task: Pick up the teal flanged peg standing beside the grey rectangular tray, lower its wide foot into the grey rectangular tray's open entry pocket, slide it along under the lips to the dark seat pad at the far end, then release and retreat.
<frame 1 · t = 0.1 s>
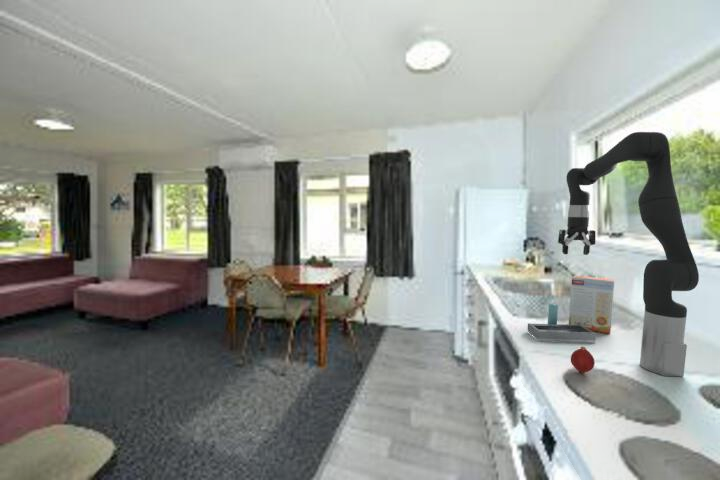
hand: (575, 254, 144), 29 cm above the counter, fingers open, 8 cm apart
onion: (581, 373, 99), on the counter
peg: (551, 329, 136), on the counter
grey rectangular tray: (559, 337, 127), on the counter
cracker box: (589, 329, 138), on the counter
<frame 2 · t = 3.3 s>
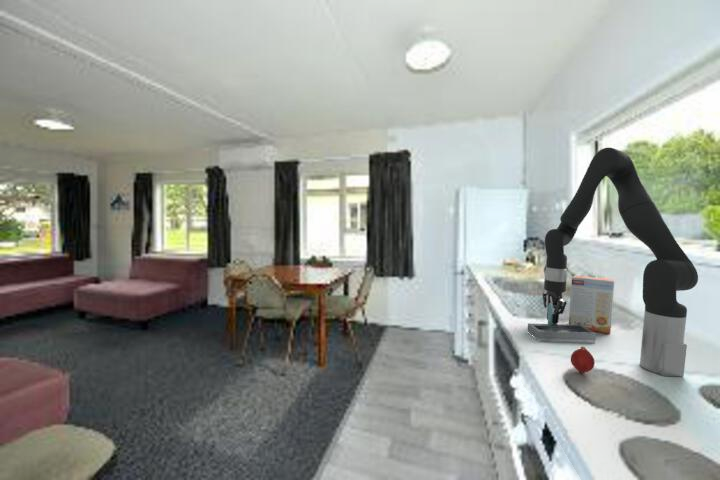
hand: (552, 321, 136), 3 cm above the counter, fingers closed on peg, 3 cm apart
peg: (551, 329, 136), on the counter, touching gripper
everything else where it was.
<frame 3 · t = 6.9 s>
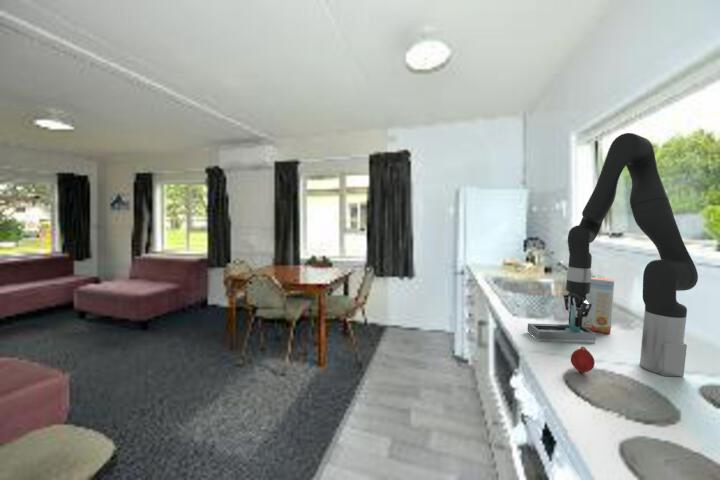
hand: (574, 324, 127), 5 cm above the counter, fingers closed on peg, 3 cm apart
peg: (574, 333, 127), point 2 cm above the counter, touching gripper
everything else where it was.
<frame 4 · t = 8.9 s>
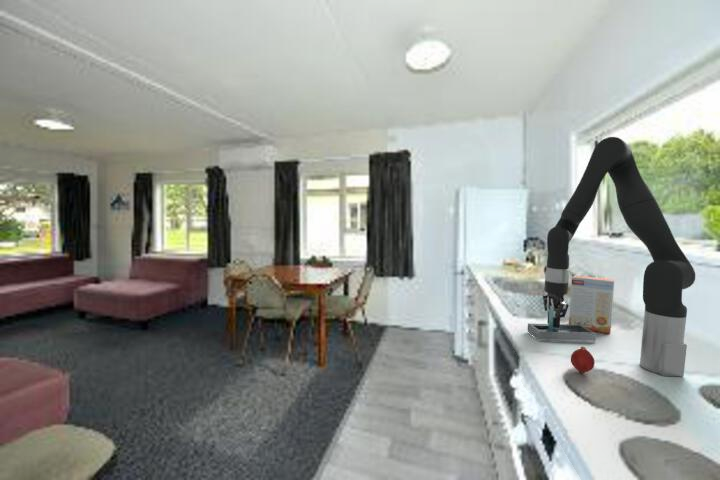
hand: (553, 325, 127), 5 cm above the counter, fingers closed on peg, 3 cm apart
peg: (552, 333, 127), point 1 cm above the counter, touching gripper
everything else where it was.
when the fingers open (4 cm above the counter, at t = 10.7 s): peg stays where it is, resting on grey rectangular tray.
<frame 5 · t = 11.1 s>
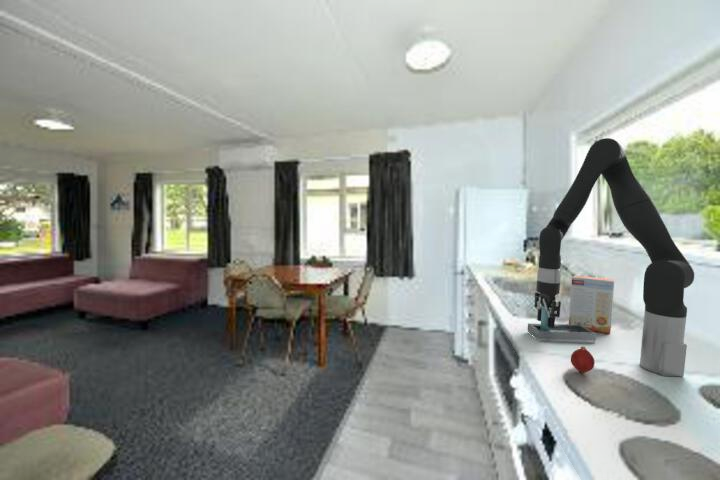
hand: (545, 323, 127), 5 cm above the counter, fingers open, 7 cm apart
peg: (544, 334, 127), point 1 cm above the counter, touching grey rectangular tray
everything else where it was.
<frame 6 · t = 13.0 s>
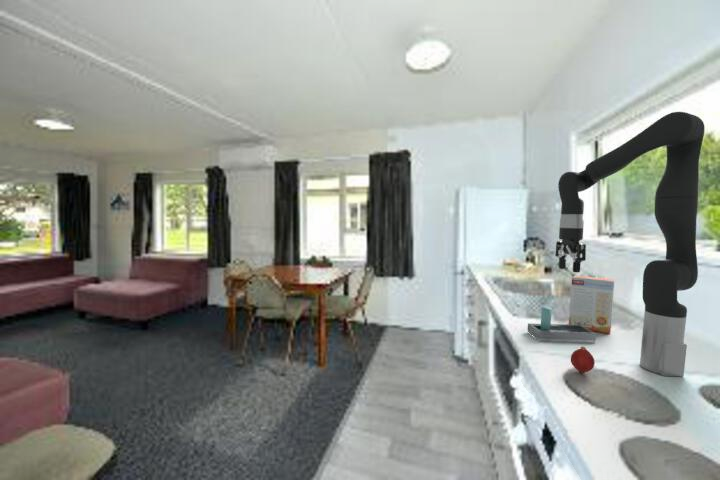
hand: (568, 270, 126), 25 cm above the counter, fingers open, 8 cm apart
nothing on the counter moved.
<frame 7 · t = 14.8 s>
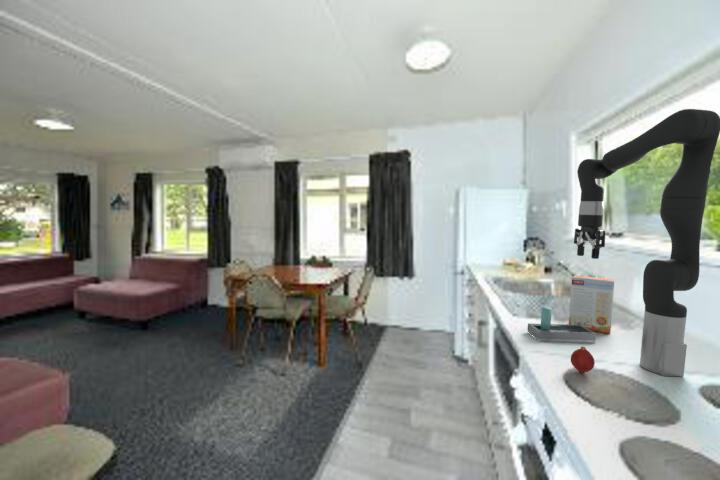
hand: (587, 257, 128), 30 cm above the counter, fingers open, 8 cm apart
nothing on the counter moved.
at the end: peg 0.2 cm from the target spot on the grey rectangular tray, point 1.1 cm above the grey rectangular tray's base; peg tilted 0°; the gripper is holding nothing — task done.
